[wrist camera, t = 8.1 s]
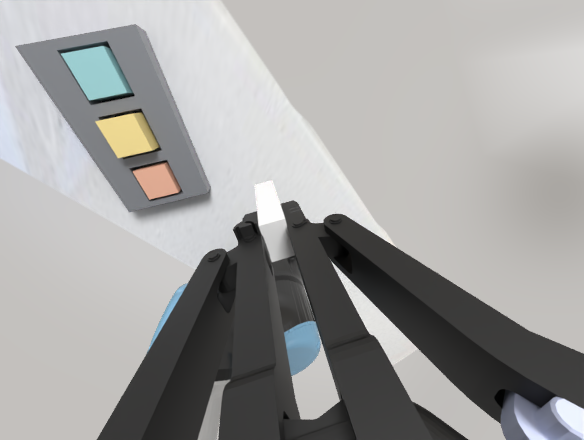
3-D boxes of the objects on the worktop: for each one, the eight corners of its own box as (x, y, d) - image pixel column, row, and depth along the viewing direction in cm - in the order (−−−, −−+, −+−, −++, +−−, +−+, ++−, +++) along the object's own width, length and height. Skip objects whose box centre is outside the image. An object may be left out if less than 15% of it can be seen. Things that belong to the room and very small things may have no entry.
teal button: (137, 93, 31) (127, 92, 28) (102, 100, 30) (89, 100, 28) (116, 50, 28) (103, 45, 25) (77, 58, 28) (60, 53, 25)
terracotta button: (183, 186, 38) (178, 192, 36) (155, 193, 38) (149, 199, 35) (170, 160, 36) (164, 164, 33) (140, 166, 35) (132, 171, 33)
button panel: (210, 187, 40) (208, 192, 37) (137, 205, 39) (129, 212, 36) (145, 31, 28) (135, 24, 25) (36, 51, 27) (15, 46, 24)
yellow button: (159, 146, 33) (152, 150, 31) (127, 153, 33) (117, 158, 30) (142, 112, 31) (132, 113, 28) (107, 119, 30) (95, 121, 28)
